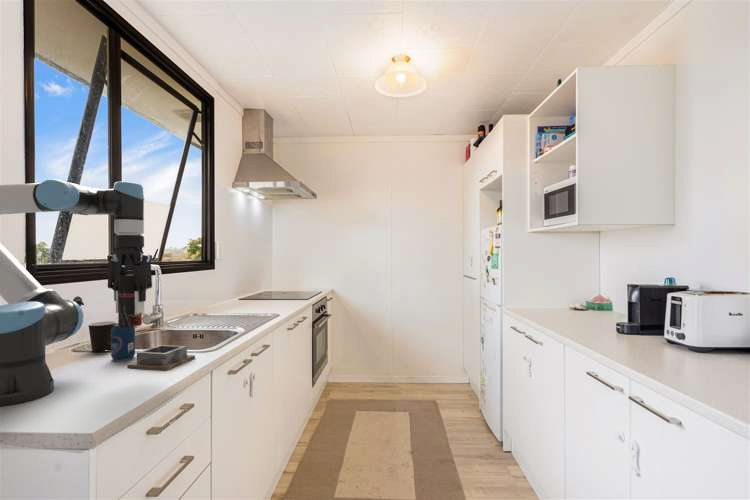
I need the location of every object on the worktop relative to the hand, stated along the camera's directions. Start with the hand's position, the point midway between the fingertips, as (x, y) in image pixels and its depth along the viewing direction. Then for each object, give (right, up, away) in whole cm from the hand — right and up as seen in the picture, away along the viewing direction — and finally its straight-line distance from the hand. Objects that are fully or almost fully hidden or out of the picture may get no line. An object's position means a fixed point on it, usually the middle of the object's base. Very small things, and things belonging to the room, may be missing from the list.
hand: (130, 312), depth 119 cm
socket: (+2, -19, +13) cm, 23 cm away
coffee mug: (-29, -19, +32) cm, 47 cm away
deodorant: (0, -4, 0) cm, 4 cm away
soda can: (-14, -19, +19) cm, 30 cm away
